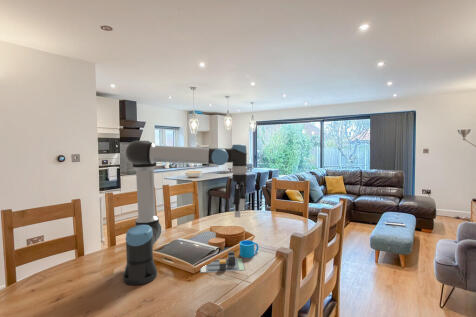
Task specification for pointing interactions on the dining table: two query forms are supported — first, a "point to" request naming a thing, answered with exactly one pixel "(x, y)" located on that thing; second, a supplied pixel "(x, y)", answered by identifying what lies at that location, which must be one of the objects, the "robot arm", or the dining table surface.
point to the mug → (247, 248)
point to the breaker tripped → (222, 264)
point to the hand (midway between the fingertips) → (239, 213)
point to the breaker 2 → (231, 259)
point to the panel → (215, 266)
